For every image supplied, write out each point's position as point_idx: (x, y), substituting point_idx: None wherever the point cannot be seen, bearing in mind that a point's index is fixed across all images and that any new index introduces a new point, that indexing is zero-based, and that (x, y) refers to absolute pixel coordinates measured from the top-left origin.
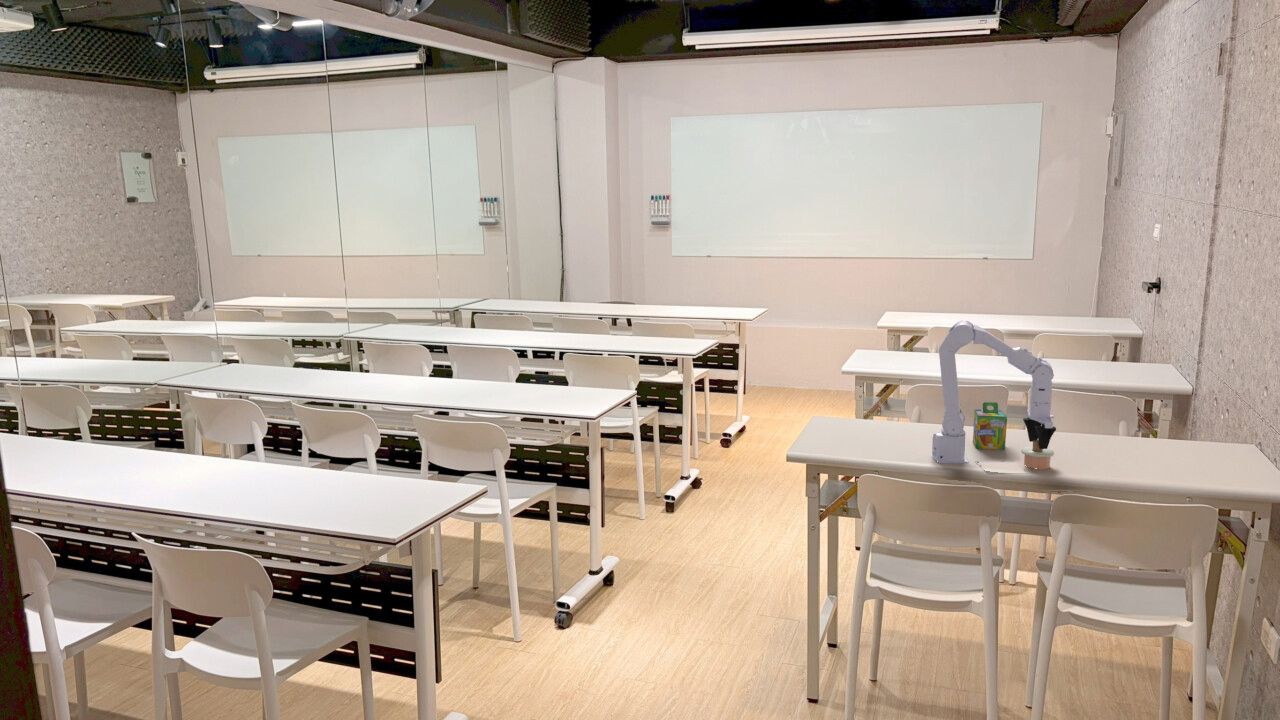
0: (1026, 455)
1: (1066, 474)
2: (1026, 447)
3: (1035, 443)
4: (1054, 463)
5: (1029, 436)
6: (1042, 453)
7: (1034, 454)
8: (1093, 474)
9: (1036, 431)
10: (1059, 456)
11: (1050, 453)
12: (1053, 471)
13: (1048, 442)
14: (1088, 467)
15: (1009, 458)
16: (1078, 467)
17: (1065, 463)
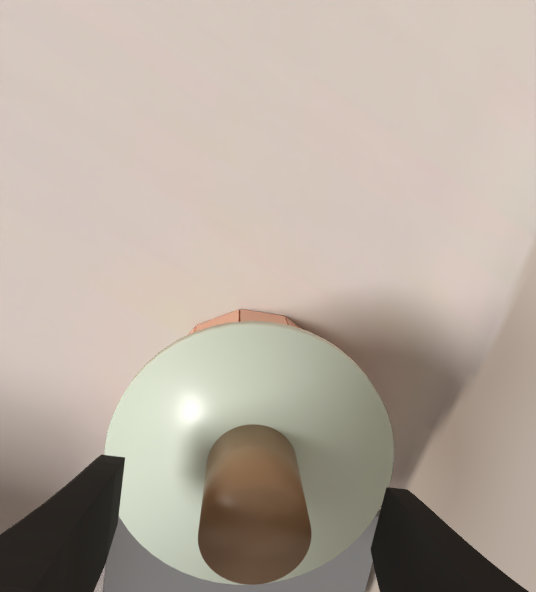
0: None
1: (444, 284)
2: (125, 505)
3: (279, 565)
4: (192, 223)
5: (93, 583)
6: (335, 462)
7: (342, 535)
8: (504, 88)
9: (70, 561)
10: (10, 66)
11: (352, 394)
12: (362, 333)
13: (456, 542)
14: (344, 9)
15: (24, 470)
16: (324, 95)
17: (208, 136)
